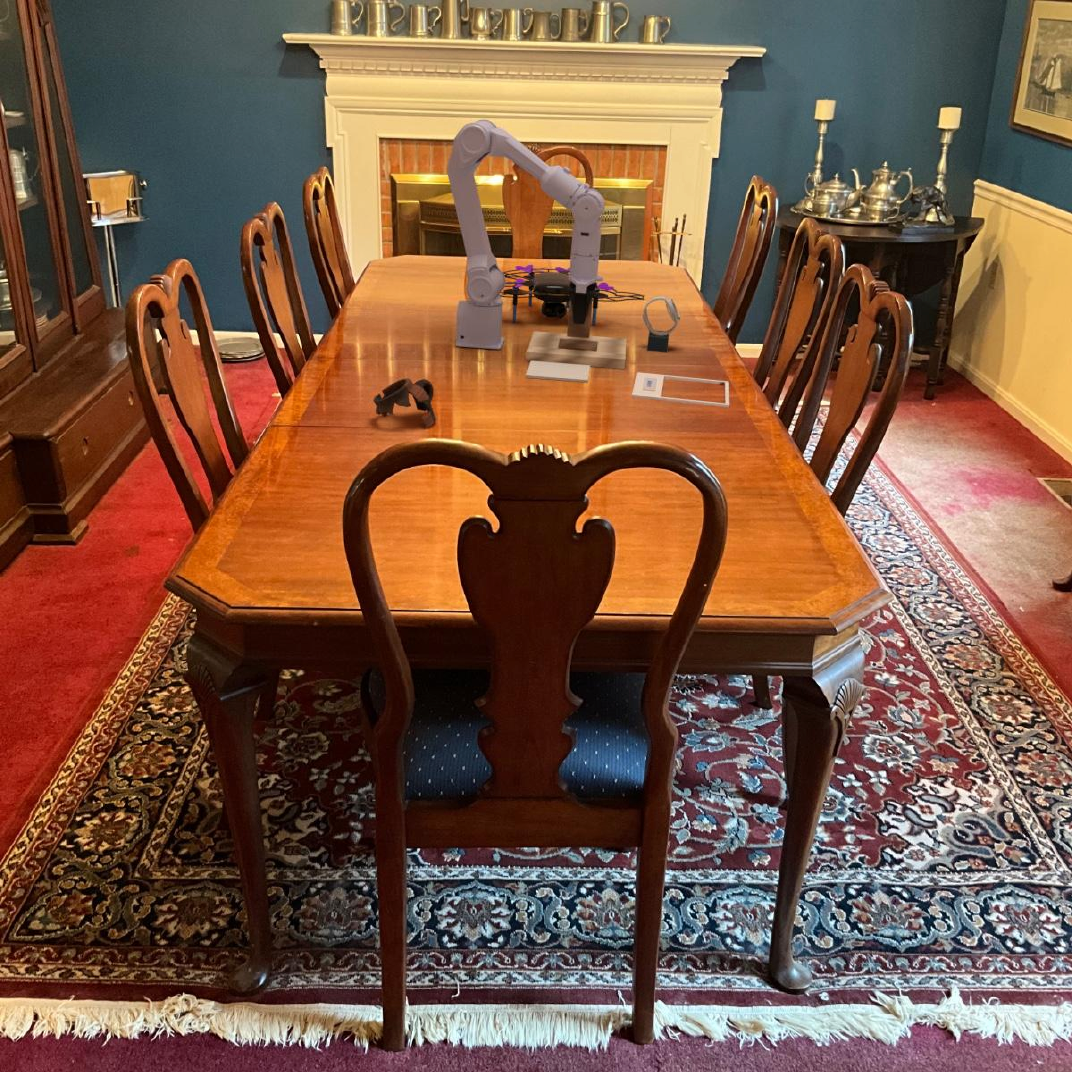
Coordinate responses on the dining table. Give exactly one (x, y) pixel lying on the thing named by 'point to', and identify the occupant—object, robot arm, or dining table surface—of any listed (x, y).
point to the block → (579, 329)
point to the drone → (553, 291)
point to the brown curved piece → (407, 398)
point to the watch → (660, 338)
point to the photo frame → (652, 385)
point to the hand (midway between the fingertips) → (579, 320)
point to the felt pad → (558, 371)
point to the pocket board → (548, 345)
